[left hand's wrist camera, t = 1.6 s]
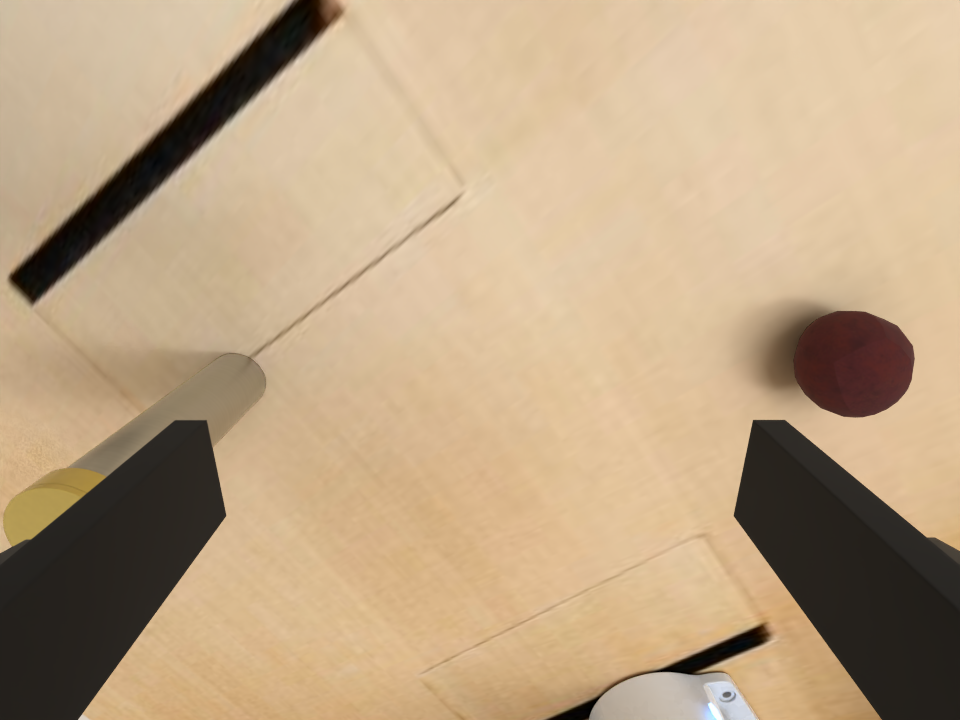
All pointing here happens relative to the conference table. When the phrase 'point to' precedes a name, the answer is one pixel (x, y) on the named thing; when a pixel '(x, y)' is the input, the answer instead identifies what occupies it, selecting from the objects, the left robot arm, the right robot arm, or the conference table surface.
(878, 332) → the dark red plum
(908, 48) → the conference table surface
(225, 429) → the bottle
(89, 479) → the lid
